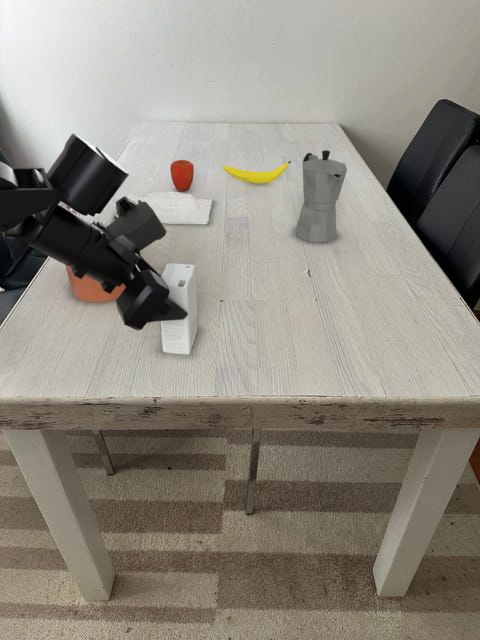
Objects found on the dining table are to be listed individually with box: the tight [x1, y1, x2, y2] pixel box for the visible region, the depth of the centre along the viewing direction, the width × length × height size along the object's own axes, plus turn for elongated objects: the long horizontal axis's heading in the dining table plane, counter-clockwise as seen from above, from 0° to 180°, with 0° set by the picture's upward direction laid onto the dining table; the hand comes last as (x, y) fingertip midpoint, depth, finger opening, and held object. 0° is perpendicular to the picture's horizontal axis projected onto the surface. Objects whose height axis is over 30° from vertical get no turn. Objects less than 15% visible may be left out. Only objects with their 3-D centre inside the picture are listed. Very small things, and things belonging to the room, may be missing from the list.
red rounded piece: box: [169, 159, 195, 192], centre depth 117 cm, size 6×6×8 cm
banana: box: [220, 160, 292, 185], centre depth 122 cm, size 3×19×6 cm, turn 92°
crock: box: [65, 265, 126, 303], centre depth 78 cm, size 11×11×6 cm
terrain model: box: [113, 191, 213, 226], centre depth 106 cm, size 17×23×5 cm
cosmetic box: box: [159, 263, 199, 355], centre depth 64 cm, size 6×4×12 cm
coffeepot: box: [295, 149, 348, 244], centre depth 94 cm, size 15×9×18 cm, turn 18°
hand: (173, 298), depth 62 cm, fingers open, 9 cm apart
